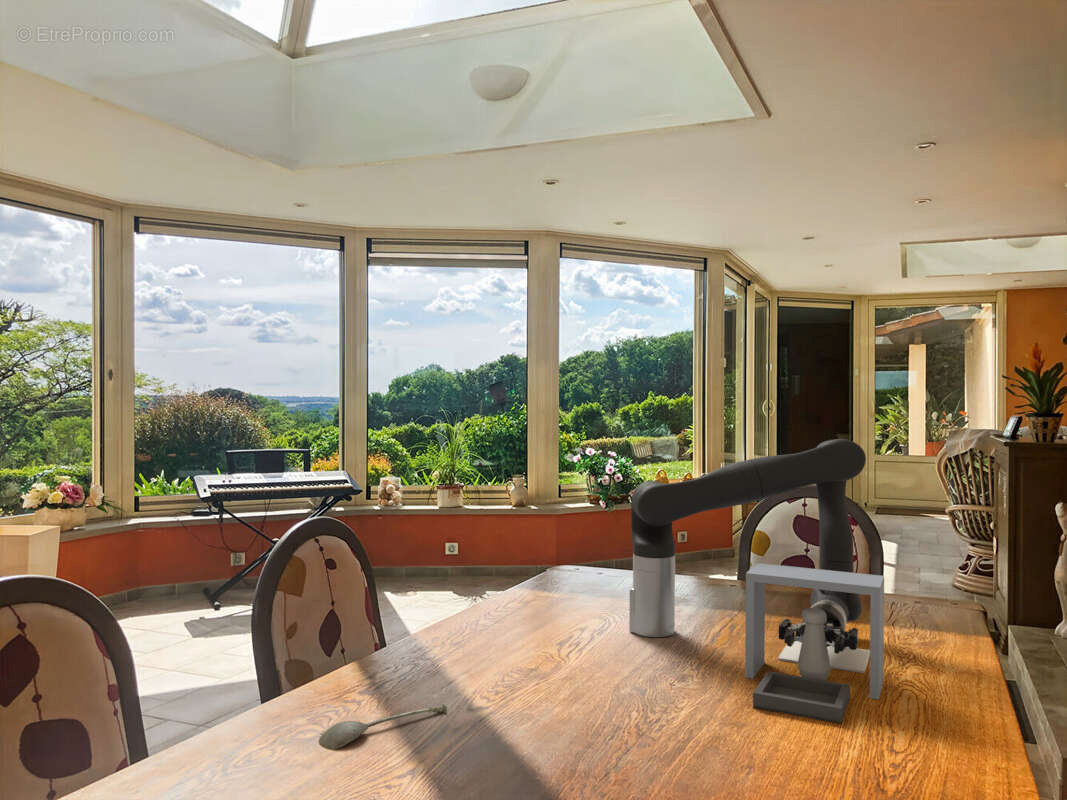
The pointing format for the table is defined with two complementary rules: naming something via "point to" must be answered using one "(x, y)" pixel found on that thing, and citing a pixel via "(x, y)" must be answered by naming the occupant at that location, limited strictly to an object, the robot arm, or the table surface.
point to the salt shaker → (814, 646)
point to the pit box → (802, 696)
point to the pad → (833, 657)
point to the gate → (813, 580)
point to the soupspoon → (360, 729)
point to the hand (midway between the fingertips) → (812, 644)
